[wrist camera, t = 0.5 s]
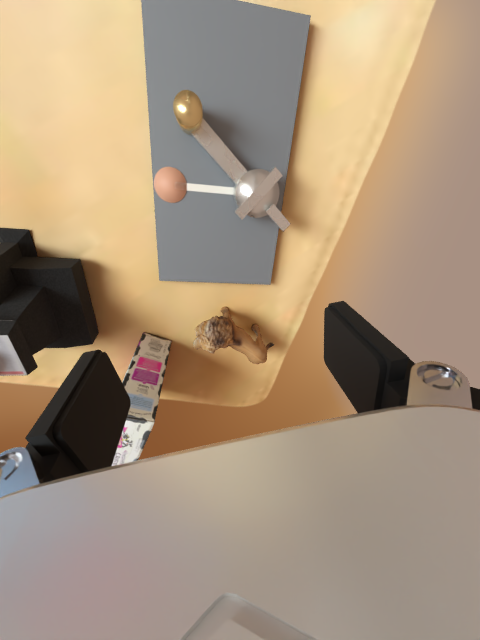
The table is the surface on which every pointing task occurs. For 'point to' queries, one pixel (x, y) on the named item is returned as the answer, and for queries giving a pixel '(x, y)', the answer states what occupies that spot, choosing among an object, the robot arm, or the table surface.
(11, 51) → the table surface
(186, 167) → the base plate
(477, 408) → the robot arm
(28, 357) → the camera
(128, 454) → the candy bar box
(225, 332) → the lion figurine
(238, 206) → the crank handle
